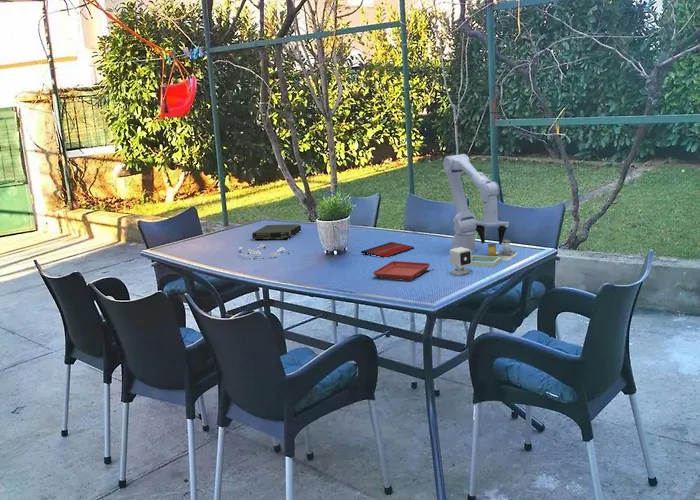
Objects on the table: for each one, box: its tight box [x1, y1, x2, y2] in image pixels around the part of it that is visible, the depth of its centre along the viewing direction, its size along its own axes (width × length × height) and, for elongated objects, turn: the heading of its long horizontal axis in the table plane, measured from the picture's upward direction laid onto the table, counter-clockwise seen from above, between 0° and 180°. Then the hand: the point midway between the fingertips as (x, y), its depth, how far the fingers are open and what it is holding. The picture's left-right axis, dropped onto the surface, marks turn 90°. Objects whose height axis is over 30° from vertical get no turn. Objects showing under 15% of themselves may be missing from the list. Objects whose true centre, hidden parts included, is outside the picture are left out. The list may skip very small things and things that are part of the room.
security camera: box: [449, 247, 473, 276], centre depth 279 cm, size 6×7×10 cm
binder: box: [360, 241, 415, 258], centre depth 327 cm, size 16×2×21 cm
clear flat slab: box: [238, 243, 286, 256], centre depth 347 cm, size 35×24×3 cm
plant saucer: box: [372, 260, 431, 281], centre depth 286 cm, size 18×18×3 cm
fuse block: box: [485, 249, 519, 262], centre depth 297 cm, size 12×13×2 cm
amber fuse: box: [487, 242, 497, 256], centre depth 294 cm, size 3×3×6 cm
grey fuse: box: [502, 239, 511, 253], centre depth 298 cm, size 3×3×6 cm
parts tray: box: [467, 254, 503, 268], centre depth 288 cm, size 13×10×3 cm
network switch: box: [251, 223, 302, 240], centre depth 385 cm, size 23×24×5 cm
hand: (491, 243), depth 293 cm, fingers open, 7 cm apart
